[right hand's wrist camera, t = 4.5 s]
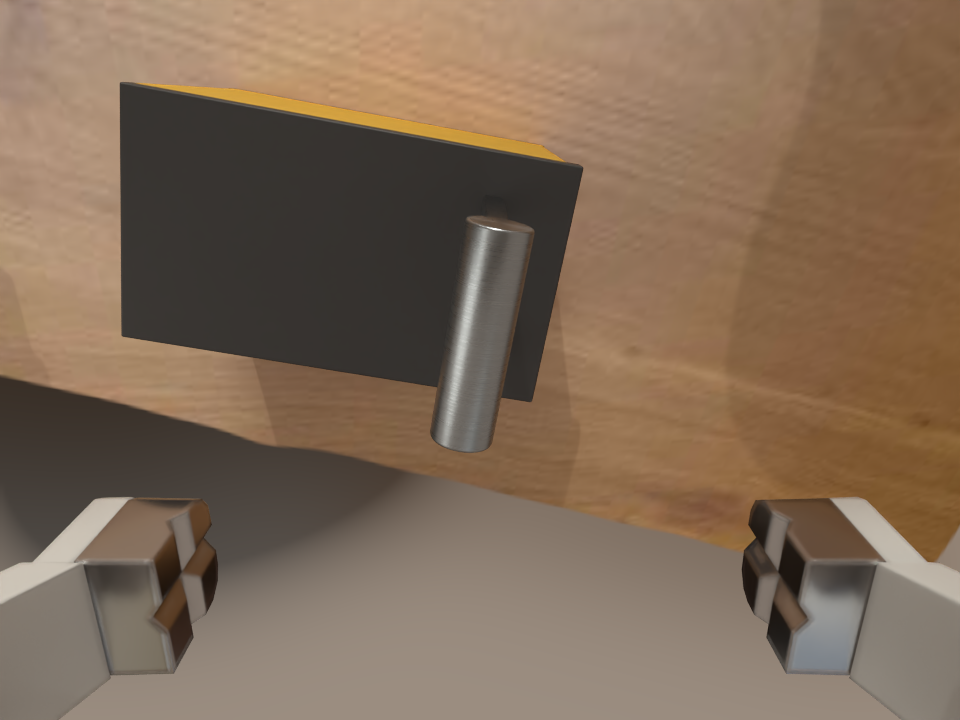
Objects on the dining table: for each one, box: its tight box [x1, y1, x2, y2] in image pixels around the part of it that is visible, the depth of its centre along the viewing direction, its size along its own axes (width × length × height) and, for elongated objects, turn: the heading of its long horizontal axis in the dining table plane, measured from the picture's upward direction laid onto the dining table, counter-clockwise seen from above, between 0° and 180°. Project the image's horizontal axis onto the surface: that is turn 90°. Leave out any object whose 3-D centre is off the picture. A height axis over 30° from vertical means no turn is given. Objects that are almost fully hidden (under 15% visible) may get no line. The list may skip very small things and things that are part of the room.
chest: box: [138, 83, 565, 162], centre depth 32 cm, size 16×9×11 cm, turn 80°
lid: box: [120, 82, 583, 453], centre depth 22 cm, size 16×9×9 cm, turn 80°
